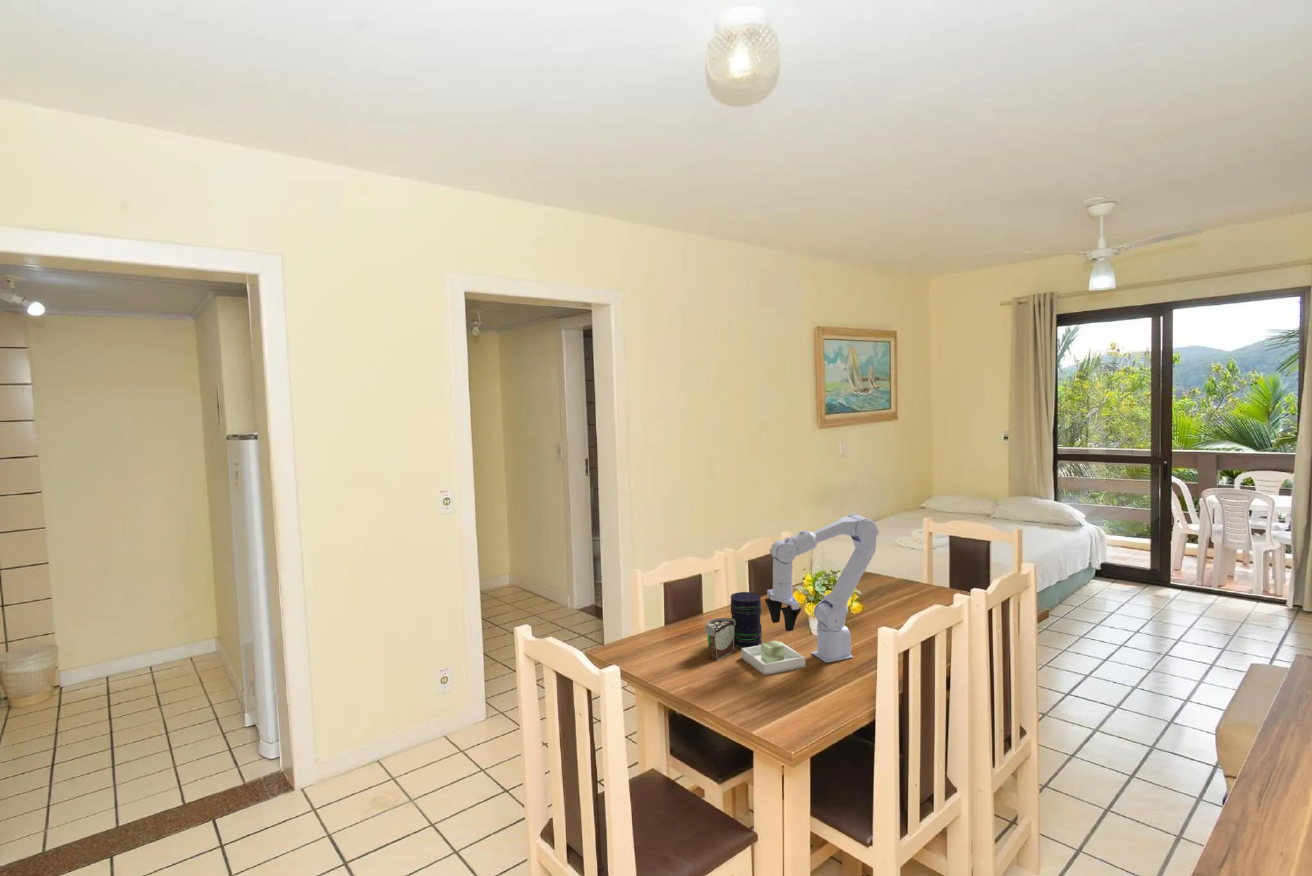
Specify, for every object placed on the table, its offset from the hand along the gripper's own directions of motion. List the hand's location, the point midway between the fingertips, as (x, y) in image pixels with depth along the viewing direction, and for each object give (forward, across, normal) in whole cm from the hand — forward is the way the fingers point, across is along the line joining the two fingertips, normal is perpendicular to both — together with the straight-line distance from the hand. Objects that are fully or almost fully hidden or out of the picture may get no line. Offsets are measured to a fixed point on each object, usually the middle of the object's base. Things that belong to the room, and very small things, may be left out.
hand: (782, 626), depth 193 cm
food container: (+11, -13, -15) cm, 23 cm away
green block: (+10, 0, -4) cm, 11 cm away
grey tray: (+10, 0, -3) cm, 11 cm away
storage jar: (+11, -18, -2) cm, 21 cm away
